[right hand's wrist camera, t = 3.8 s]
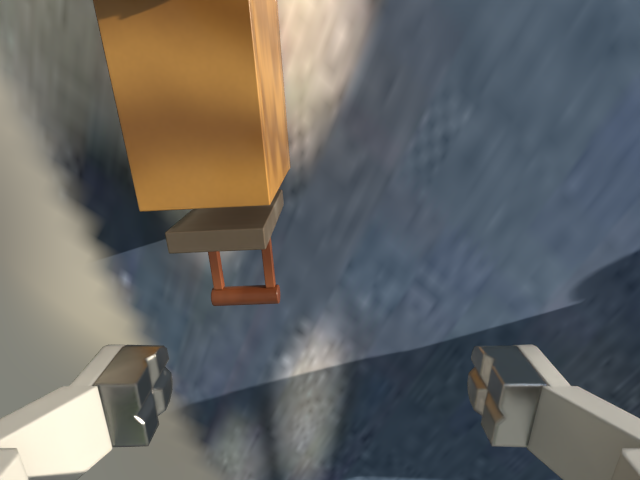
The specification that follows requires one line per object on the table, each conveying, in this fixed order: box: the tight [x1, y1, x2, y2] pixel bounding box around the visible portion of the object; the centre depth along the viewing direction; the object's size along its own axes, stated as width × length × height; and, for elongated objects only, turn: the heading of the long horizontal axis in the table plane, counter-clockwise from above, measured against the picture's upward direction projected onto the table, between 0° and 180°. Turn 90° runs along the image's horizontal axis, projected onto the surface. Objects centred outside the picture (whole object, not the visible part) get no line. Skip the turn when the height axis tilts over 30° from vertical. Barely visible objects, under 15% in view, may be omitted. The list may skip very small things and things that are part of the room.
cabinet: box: [93, 0, 290, 211], centre depth 21 cm, size 17×6×11 cm, turn 3°
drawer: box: [165, 190, 284, 306], centre depth 23 cm, size 22×5×9 cm, turn 3°
